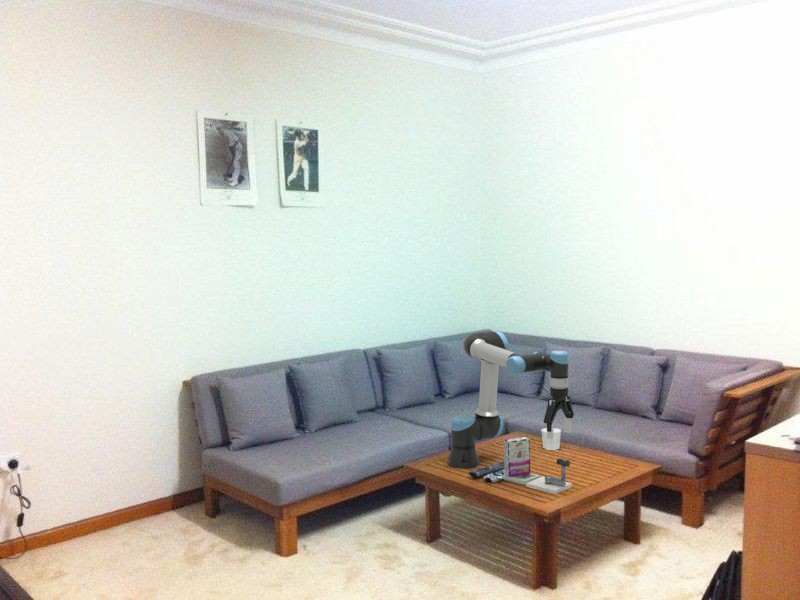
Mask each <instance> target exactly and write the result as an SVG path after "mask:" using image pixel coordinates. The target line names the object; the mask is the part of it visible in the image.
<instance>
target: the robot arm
mask: <svg viewBox="0 0 800 600" xmlns="http://www.w3.org/2000/svg"><path fill="white" fill-rule="evenodd" d="M463 350H464V352H465V354H466V355H467V356H469V357H470V358H472V359H474V360H480V362H481V363H480V378H479V379H480V381H479V382H480V383H479V397H478V398H479V400H478V408H477V409H475V414H470V413H469V414H459V415H457V416H454V417H453V418H452V420H451V421H450V422H451V423H450V429H451V430H450V431H451V433H450V434H451V440H450V441H451V448H450V453H449V455H448V459H447V464H448V465H449V466H450V467H454V468H458V469H470V468H476V467H478V466H480V458H479V456H478V452H477V450H476V449H477V447H476V442H479V441H484V440H491V439H495V438H498V437H499V436H500V435H501V434H502V432H503V429H504V421H503V418H502V416H501V415H500V413H499V411H498V410H497V402H498V401H497V400H498V385H499V372H500V371H499V369H500V367H504V368H506V369H507V371H508V373H510V374H512V375H513V374H517V375H518V374H524V373H526V374H527V373H533V372H541V371H545V372H549V373H550V374H549V375H550V376H549V378H550V379H549V386H550V388H549V389H550V390H549V391H550V393H549V394H550V397H552V399H551V400H550V399H548V401H547V406H546V411H545V413H544V414H545V415H544V419H543V424H546V428H547V439H552V440H553V428H554V423H553V422H554V420H555V417H556V415H557V413H558V412H559V410H561V411H562V413H563V414H564V421H563V425H564V427H563V430H564V431H563V433H566V434H572V433H571V427H572V426H571V422H572V419H573V418H574V416H575V413H574V409H573V407H572V406H573V405H572V402H571V396H569V388H568V387H569V362H570V361H569V353H568V352H567V351H565V350H552V351H550V353H545V352H541V351H540V352H538V351H535V352H533V353H532V354H518V353H516V352H514V351H510V350H509V342H508V338H507V337H506V335H505V334H504V333H503V332H501V331H499V330H498V331H495V330H491V331H483V332H473V333H470V334H468V335H467V336H466V337H465V339H464V341H463Z"/></svg>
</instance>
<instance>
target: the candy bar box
mask: <svg viewBox="0 0 800 600" xmlns="http://www.w3.org/2000/svg"><path fill="white" fill-rule="evenodd" d="M530 441H531V439H530V438H528V437H526V436H521V437H513V438H512V437H511V438H505V439H503V465H504V466H503V467H504V469H503V470H504V474H505V475H506V476H508V477H514V476H521V475H527V474H530V473H531V451H530V450H531V445H530V443H531V442H530Z"/></svg>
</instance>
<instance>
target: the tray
mask: <svg viewBox="0 0 800 600" xmlns="http://www.w3.org/2000/svg"><path fill="white" fill-rule="evenodd" d="M498 475H500V476H502V477H503V479H504V480H503V481H505V482H510V483H513V484H514V483H515V484H517V485H521V486H525V487H526V483H528V482H530V481H533V480H535V479H538V478H540V477H541V476H540V475H539V474H537V473H536V474H534V473H531V472H530V474H527V475H521V476H514V477H508V476H506V475H502V474H498Z"/></svg>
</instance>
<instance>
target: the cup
mask: <svg viewBox="0 0 800 600" xmlns="http://www.w3.org/2000/svg"><path fill="white" fill-rule="evenodd" d="M540 430H541V439H542V449H543V448H545V449H547V450H556V449H559V448H560V447H561V446H560V444H561V436H562V429H560V428H557V427H556V428H555V427H553V440H552V439H547V427H545V428H544V427H543V428H541V429H540ZM545 449H544V450H545ZM547 450H546V451H547ZM559 450H560V449H559ZM556 451H557V450H556Z"/></svg>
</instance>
